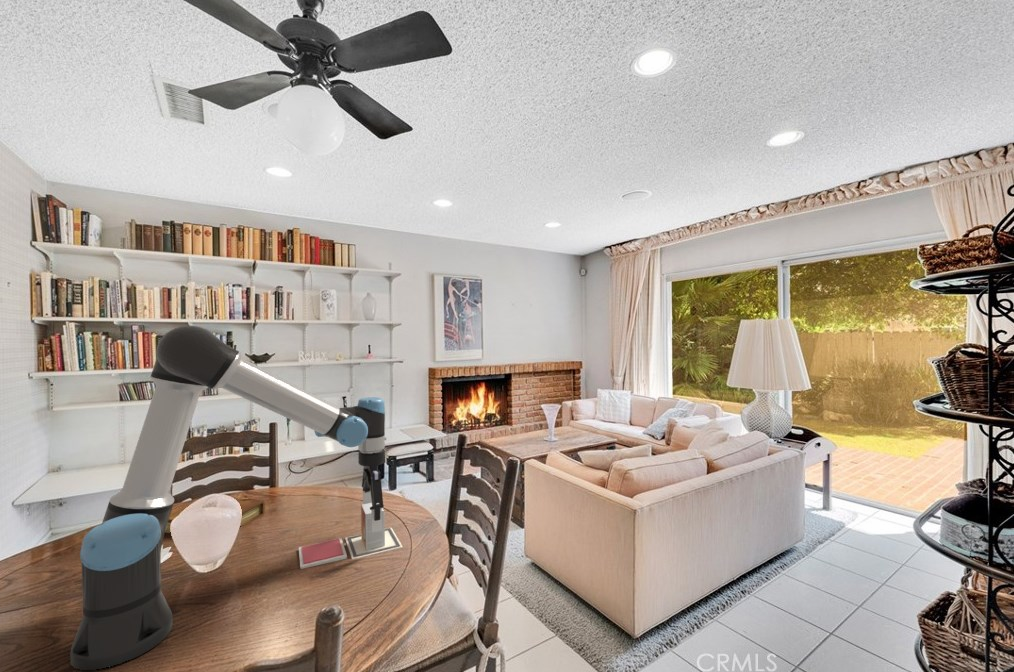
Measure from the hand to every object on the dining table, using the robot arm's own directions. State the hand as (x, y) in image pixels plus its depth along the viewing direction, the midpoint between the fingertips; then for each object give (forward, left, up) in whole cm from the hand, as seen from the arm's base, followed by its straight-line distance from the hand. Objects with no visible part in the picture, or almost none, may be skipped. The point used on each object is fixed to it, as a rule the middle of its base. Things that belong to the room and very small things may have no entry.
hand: (371, 521), depth 127 cm
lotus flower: (+15, +58, -7) cm, 60 cm away
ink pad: (0, +14, -7) cm, 15 cm away
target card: (0, 0, -7) cm, 7 cm away
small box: (0, 0, -7) cm, 7 cm away
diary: (+40, +44, -7) cm, 59 cm away
